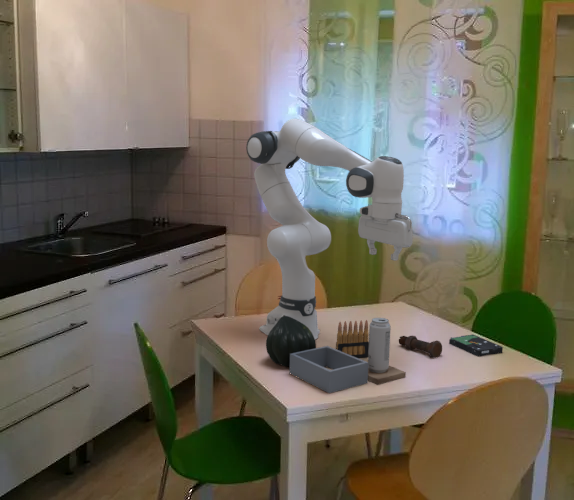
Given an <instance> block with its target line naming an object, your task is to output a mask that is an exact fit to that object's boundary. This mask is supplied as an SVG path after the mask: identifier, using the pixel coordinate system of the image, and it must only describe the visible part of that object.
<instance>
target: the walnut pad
mask: <svg viewBox="0 0 574 500" xmlns="http://www.w3.org/2000/svg"><path fill="white" fill-rule="evenodd" d="M406 375H407V372H406V371H404V370H401V369H399V368H397V367H394V366H392V365H389V368H388V369H387V371H386V372H384V373H375V372H372V371H370V368H369V367H368V381H369V382H370V383H373V384H376V385H377V386H378V385H381V384H384V383H389V382H393V381H396V380H400V379H403V378H404V379H405V378H406Z"/></svg>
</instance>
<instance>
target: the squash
mask: <svg viewBox="0 0 574 500" xmlns="http://www.w3.org/2000/svg"><path fill="white" fill-rule="evenodd" d="M266 336H267V337H266V341H265V348H266V353H267V354H268V357H269V358H270V360H272V362H274V364H277V365H281V366H283V367H288V366H289V367H290V354H292V353H296V352H301V351H306V350H310V349H315V348H317V344H316V343H317V341H316V339H314V336H313V334H312V332H311V331H310V330H309V328H308V327H307V326H305V325H304V324H303V323H301V322H299V321H297V320H296V319H293V318H291V317H289V316H285V315H283V316H282V317H281V318H280V319H279V320H278V322H277V323H276V325H275V326H274V327H273V328H272V330H271V331H270V332H269V334H268V335H266Z"/></svg>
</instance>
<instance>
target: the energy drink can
mask: <svg viewBox="0 0 574 500" xmlns="http://www.w3.org/2000/svg"><path fill="white" fill-rule="evenodd" d="M391 328H392V327H391V324H390V320H389V319H388V318H386V317H373V318H372V319H371V322H370V324H368V333H369V336H368V342H369V349H368V358H367V362H368V367H369V368H370V371H372V372H375V373H384V372H386V371H387V369H388V368H389V366H390V349H391V348H390V347H391V330H392V329H391Z"/></svg>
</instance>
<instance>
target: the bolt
mask: <svg viewBox="0 0 574 500" xmlns="http://www.w3.org/2000/svg"><path fill="white" fill-rule="evenodd" d="M398 344H399V345H401V346H404V347H405V348H406V349H407V350H408V351H413V350H417V351H421V352H424V353H427V354H428V355H429V357H430V358H431V359H436V357H437V358H439V357H440V356H441V355H442V353H443V343H442V342H441V341H440V340H433V341H431V342H429V341H424V340H421V339H418V338H417V336H416V335H409V336H406V335H401V336H399V338H398Z"/></svg>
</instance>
